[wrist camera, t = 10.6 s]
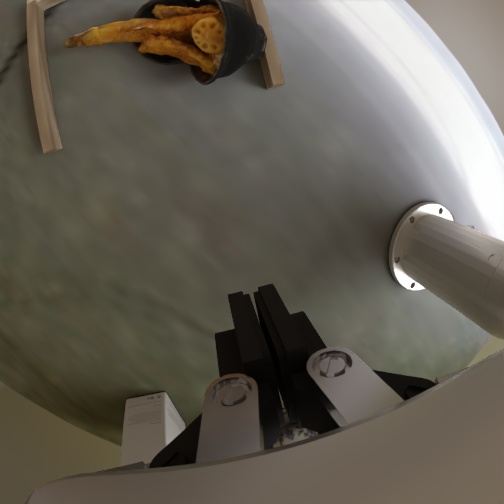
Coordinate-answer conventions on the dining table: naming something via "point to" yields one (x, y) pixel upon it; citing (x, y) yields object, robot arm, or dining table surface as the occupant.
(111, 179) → the dining table surface
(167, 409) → the skincare box
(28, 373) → the dining table surface
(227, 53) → the fried shrimp in bowl
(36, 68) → the serving frame
